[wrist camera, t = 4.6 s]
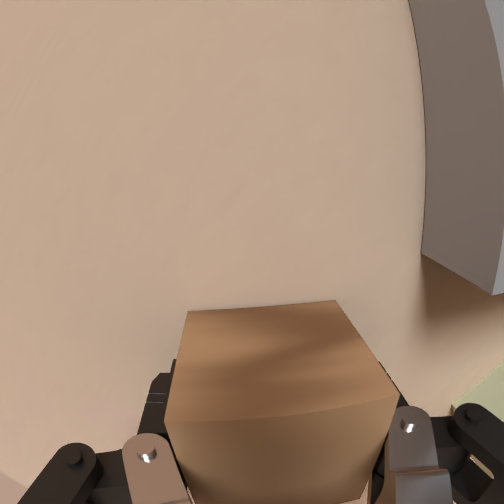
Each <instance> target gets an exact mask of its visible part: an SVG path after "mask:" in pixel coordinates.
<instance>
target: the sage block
mask: <svg viewBox="0 0 504 504" xmlns="http://www.w3.org/2000/svg"><path fill="white" fill-rule="evenodd" d="M465 403H476V404H479V405H481V406H483V407H484V408H486V409H487V410H488V411H490V412H491V413H492V414H494V415H495V416H496V417H497V418H499V419H500V420H501V421H503V422H504V360H503V361H502V362H501V363H500V364H499V365H498V366H497V367H496V368H495V369H493V370H492V371H491V372H490V373H489V374H488V375H487V376H486V377H484V378H483V379H482V380H481V381H480V382H479V383H477V384H476V385H475V386H474V387H473V388H471V389H470V390H469V391H468V392H467V393H465V394H464V395H463V396H461V397H460V398H459V399H458V400H456V401H455V402H454V403H452V407H453V411H454V412H455V410H456V408H457V407H458V406H460V405H462V404H465ZM471 457H472V458H473V459H474V461H475V462H476V464H477V465H478V466H479V467H480V468H481V469H482V470H483V471H484V472H485V473H486V474H488V475H489V476H490V477H491V478H492V479H494V477H493V474H492V472H491V471H490V470H489V469H488V468H487V467H485V466H484V465H483V464H482V463H481V462H480V461H479V460H478V459H477V458H475V457H474V456H473V455H471Z"/></svg>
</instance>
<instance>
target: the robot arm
mask: <svg viewBox="0 0 504 504" xmlns="http://www.w3.org/2000/svg"><path fill="white" fill-rule="evenodd" d="M176 360H177V359H174V360H173V363H172V367H171V371H170V373H160V374H159V375H158V376H157V377H156V378H155V379H154V380H153V381H152V383H151V386H150V390H149V394H148V397H147V400H146V404H145V407H144V411H143V415H142V418H141V422H140V426H139V429H138V433H137V435H136V436H133V437H132V438H130V439H129V440H128V441H127V442H126V443H125V444H124V446H123V449H120V450H117V451H111V452H104V453H96V454H95V452H94V451H93V449H92V448H91V447H89V446H88V445H86V444H82V443H70V444H67V445H65V446H63V447H61V448H60V449H59V450H58V451H57V452H56V454H55V455H54V456H53V457H52V459H51V460H50V461H49V463H48V464H47V465H46V466H45V468H44V469H43V470H42V472H41V473H40V474H39V476H38V477H37V478H36V480H35V481H34V482H33V483H32V485H31V486H30V487H29V489H28V490H27V491H26V493H25V494H24V496H23V497H22V498H21V499H20V501H19V502H18V503H17V504H192V501H191V499H190V496H189V494H188V491H187V483H186V480H185V478H184V475H183V473H182V470H181V468H180V465H179V463H178V460H177V457H176V455H175V452H174V449H173V446H172V444H171V441H170V438H169V435H168V432H167V429H166V426H165V423H164V418H165V413H166V408H167V403H168V398H169V393H170V388H171V384H172V379H173V374H174V370H175V365H176ZM378 362H379V361H378ZM379 364H380V365H381V366H382V364H381V363H380V362H379ZM382 368H383V369H384V367H383V366H382ZM384 371H385V372H386V370H385V369H384ZM386 374H387V375H388V373H386ZM388 377H389V378H390V376H389V375H388ZM390 380H391V378H390ZM392 383H393V384H394V382H393V381H392ZM394 386H395V387H396V389H397V390H398V392H399V393H400V396H399V400H398V403H397V406H396V409H395V412H394V415H393V418H392V421H391V424H390V427H389V430H388V432H387V435H386V438H385V441H384V443H383V446H382V449H381V451H380V454H379V456H378V459H377V461H376V463H375V466H374V468H373V471H372V473H371V475H370V477H369V484H368V498H367V504H453V500H454V501H455V502H456V503H457V504H504V422H503V421H501V420H500V419H499V418H497V417H496V416H495V415H494V414H492V413H491V412H490V411H488V410H487V409H486V408H484V407H483V406H481V405H479V404H476V403H465V404H462V405H460V406H458V407H457V408H456V410H455V412H454V414H453V416H445V417H429V415H428V414H427V413H426V412H425V411H424V410H422V409H420V408H418V407H414V406H409V405H408V403H407V401H406V400H405V398H404V397H403V395H402V394H401V392H400V391H399V389H398V388H397V386H396V385H395V384H394ZM471 455H473V456H474V457H475V458H477V459H478V460H479V461H480V462H481V463H482V464H483V465H484V466H485V467H487V468H488V469H489V470H490V471H491V472H492V474H493V477H494V479H492V478H491V477H490V476H489V475H488V474H486V473H485V472H484V471H483V470H482V469H481V468H480V467H479V466H478V465H476V464H475V463H474V462H473V461H472V460H471V459H470V456H471Z"/></svg>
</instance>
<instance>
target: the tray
mask: <svg viewBox="0 0 504 504" xmlns="http://www.w3.org/2000/svg"><path fill="white" fill-rule="evenodd" d="M409 4H410V9H411V13H412V18H413V23H414V29H415V34H416V40H417V46H418V53H419V60H420V67H421V76H422V85H423V96H424V109H425V127H426V196H425V215H424V229H423V240H422V250H421V253H422V254H424V255H425V256H427V257H429V258H431V259H432V260H434V261H436V262H438V263H439V264H441V265H443V266H444V267H446V268H448V269H450V270H451V271H453V272H455V273H456V274H458V275H460V276H461V277H463V278H465V279H466V280H468V281H469V282H471V283H473V284H474V285H476V286H478V287H479V288H481V289H482V290H484V291H486V292H487V293H489V294H490V295H497V294H501V293H504V0H409Z"/></svg>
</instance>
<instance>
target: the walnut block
mask: <svg viewBox="0 0 504 504" xmlns="http://www.w3.org/2000/svg"><path fill="white" fill-rule="evenodd" d="M399 396H400V393H399V392H398V390H397V389H396V387H395V386H394V384H393V383H392V381H391V380H390V378H389V377H388V375H387V374H386V372H385V371H384V369H383V368H382V366H381V365H380V364H379V362H378V361H377V359H376V358H375V356H374V355H373V353H372V352H371V350H370V349H369V347H368V346H367V345H366V343H365V342H364V340H363V339H362V337H361V336H360V334H359V333H358V332H357V330H356V329H355V327H354V326H353V324H352V323H351V322H350V320H349V319H348V317H347V316H346V314H345V313H344V312H343V310H342V309H341V307H340V306H339V305H338V303H337V302H336V300H332V301H322V302H312V303H302V304H290V305H279V306H266V307H253V308H238V309H222V310H204V311H188V313H187V317H186V321H185V326H184V330H183V334H182V338H181V343H180V347H179V352H178V356H177V360H176V365H175V370H174V374H173V379H172V384H171V388H170V393H169V398H168V403H167V408H166V413H165V418H164V423H165V426H166V429H167V432H168V435H169V438H170V441H171V444H172V446H173V449H174V452H175V455H176V457H177V460H178V463H179V465H180V468H181V470H182V473H183V475H184V478H185V480H186V483H187V485H188V488H189V490H190V492H191V495H192V497H193V499H194V502H195V504H340V503H344V502H348V501H353V500H356V499H360V497H361V495H362V493H363V491H364V489H365V486H366V484H367V482H368V480H369V477H370V475H371V473H372V471H373V468H374V466H375V463H376V461H377V459H378V456H379V454H380V451H381V449H382V446H383V443H384V441H385V438H386V435H387V432H388V430H389V427H390V424H391V421H392V418H393V415H394V412H395V409H396V406H397V403H398V400H399Z"/></svg>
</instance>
